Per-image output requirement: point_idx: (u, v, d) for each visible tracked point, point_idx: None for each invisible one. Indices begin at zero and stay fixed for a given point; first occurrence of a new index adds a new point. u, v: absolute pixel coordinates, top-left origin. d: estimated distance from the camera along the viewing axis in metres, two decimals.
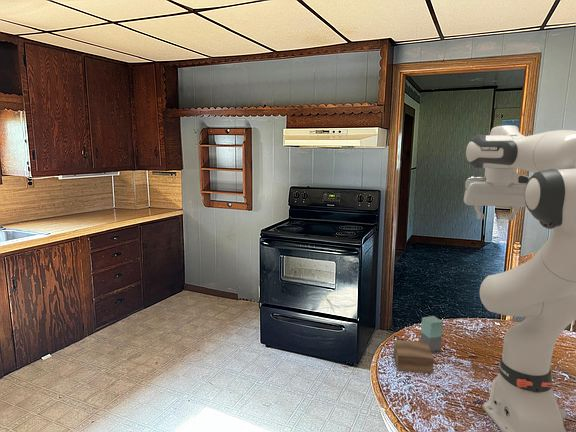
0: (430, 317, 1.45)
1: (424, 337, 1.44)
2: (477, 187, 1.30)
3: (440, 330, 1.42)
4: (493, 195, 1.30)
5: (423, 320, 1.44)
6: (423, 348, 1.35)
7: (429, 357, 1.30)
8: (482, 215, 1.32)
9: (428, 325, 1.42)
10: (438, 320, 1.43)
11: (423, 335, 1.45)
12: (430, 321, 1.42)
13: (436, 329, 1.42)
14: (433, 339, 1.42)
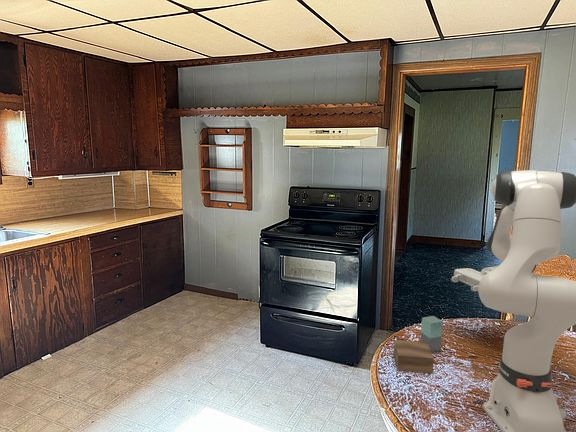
0: (430, 317, 1.45)
1: (424, 337, 1.44)
2: (471, 269, 1.55)
3: (440, 330, 1.42)
4: (476, 274, 1.50)
5: (423, 320, 1.44)
6: (423, 348, 1.35)
7: (429, 357, 1.30)
8: (456, 277, 1.50)
9: (428, 325, 1.42)
10: (438, 320, 1.43)
11: (423, 335, 1.45)
12: (430, 321, 1.42)
13: (436, 329, 1.42)
14: (433, 339, 1.42)
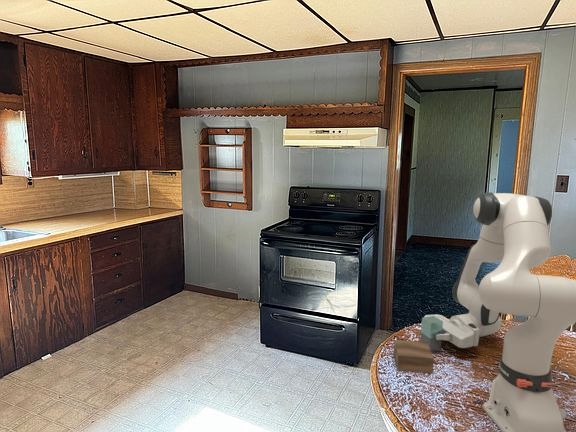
0: (430, 317, 1.45)
1: (424, 337, 1.44)
2: (440, 316, 1.54)
3: (440, 330, 1.42)
4: (444, 322, 1.48)
5: (423, 320, 1.44)
6: (423, 348, 1.35)
7: (429, 357, 1.30)
8: None
9: (428, 325, 1.42)
10: (438, 320, 1.43)
11: (423, 335, 1.45)
12: (430, 321, 1.42)
13: (436, 329, 1.42)
14: (433, 339, 1.42)
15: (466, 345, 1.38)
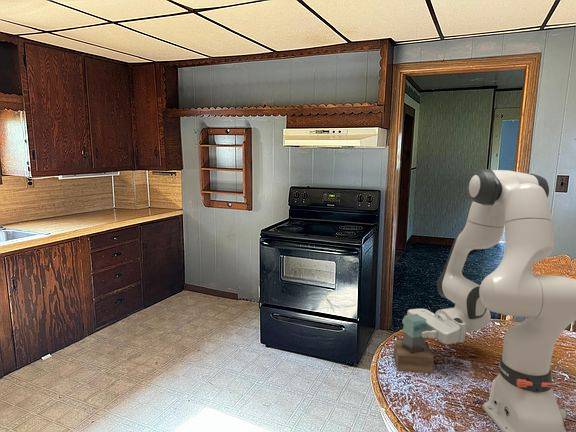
0: (413, 315, 1.35)
1: (406, 336, 1.34)
2: (425, 310, 1.43)
3: (423, 329, 1.32)
4: (429, 317, 1.37)
5: (405, 318, 1.34)
6: None
7: (429, 357, 1.30)
8: None
9: (410, 323, 1.31)
10: (421, 318, 1.32)
11: (405, 334, 1.34)
12: (412, 319, 1.31)
13: (419, 328, 1.31)
14: (415, 339, 1.31)
15: (451, 341, 1.27)
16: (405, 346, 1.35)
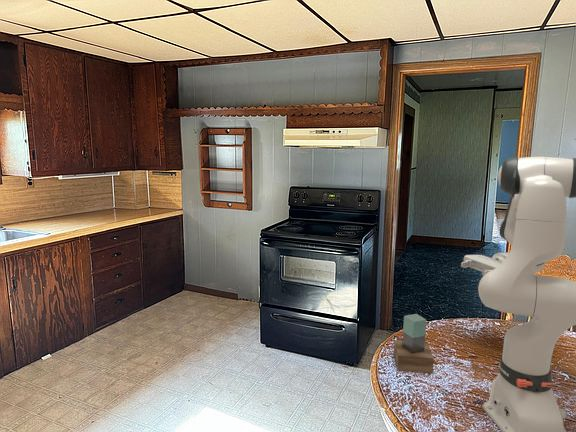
0: (413, 315, 1.35)
1: (406, 336, 1.34)
2: (481, 255, 1.49)
3: (423, 329, 1.32)
4: (487, 260, 1.43)
5: (405, 318, 1.34)
6: None
7: (429, 357, 1.30)
8: (466, 262, 1.44)
9: (410, 323, 1.31)
10: (421, 318, 1.32)
11: (405, 335, 1.34)
12: (412, 320, 1.31)
13: (419, 328, 1.31)
14: (415, 339, 1.31)
15: None
16: (405, 346, 1.35)
